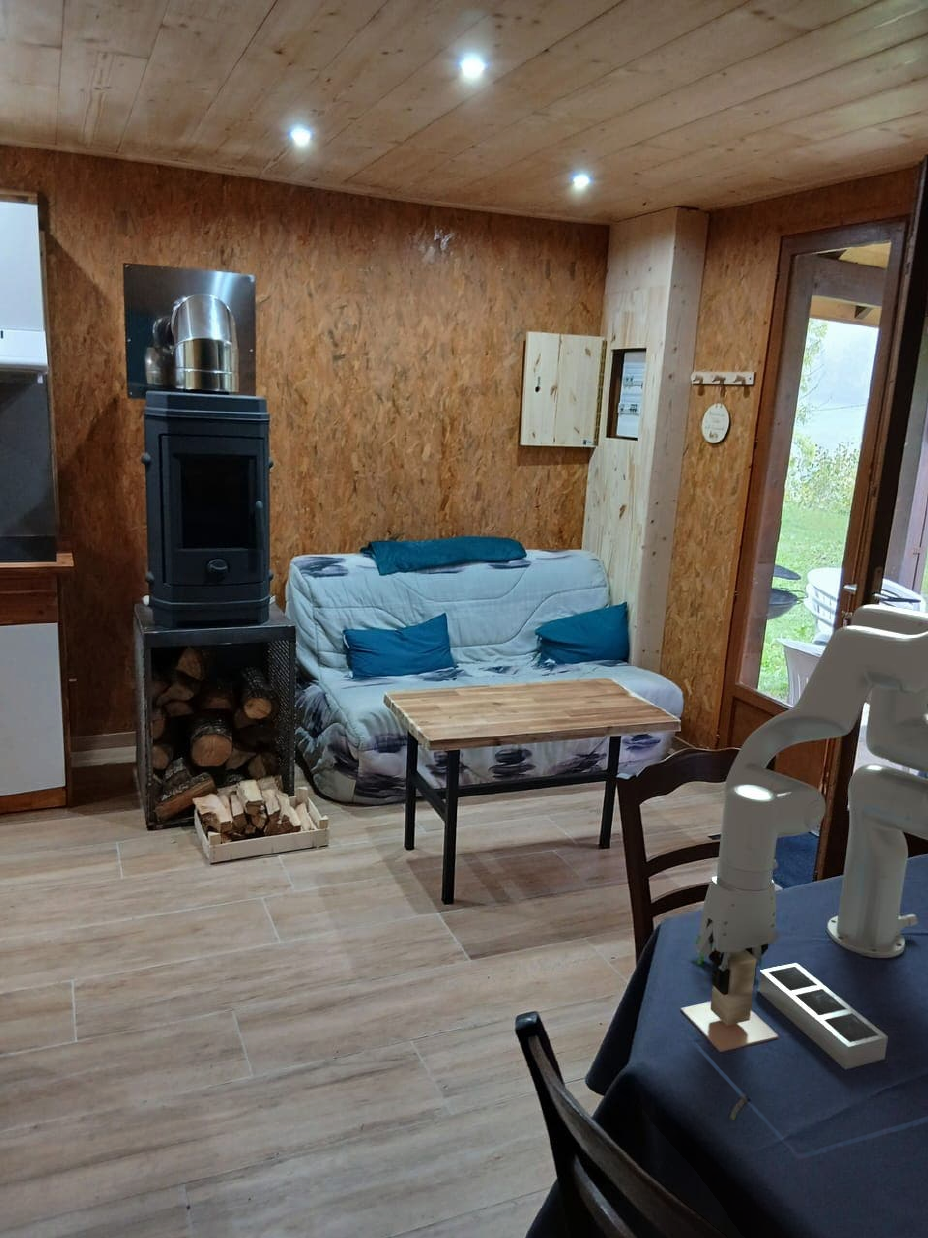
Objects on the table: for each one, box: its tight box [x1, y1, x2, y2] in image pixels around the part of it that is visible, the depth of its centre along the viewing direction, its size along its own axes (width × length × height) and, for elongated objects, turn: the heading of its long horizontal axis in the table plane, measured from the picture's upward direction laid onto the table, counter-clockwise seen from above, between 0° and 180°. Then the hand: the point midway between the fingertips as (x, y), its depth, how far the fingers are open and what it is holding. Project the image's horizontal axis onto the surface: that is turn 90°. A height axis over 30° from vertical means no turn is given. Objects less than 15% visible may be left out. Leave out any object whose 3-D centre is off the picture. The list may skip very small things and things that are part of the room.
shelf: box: [757, 962, 889, 1070], centre depth 139 cm, size 7×19×4 cm, turn 21°
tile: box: [680, 1001, 779, 1053], centre depth 139 cm, size 10×10×1 cm
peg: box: [710, 949, 757, 1025], centre depth 137 cm, size 4×4×10 cm
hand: (732, 985), depth 138 cm, fingers closed on peg, 3 cm apart
